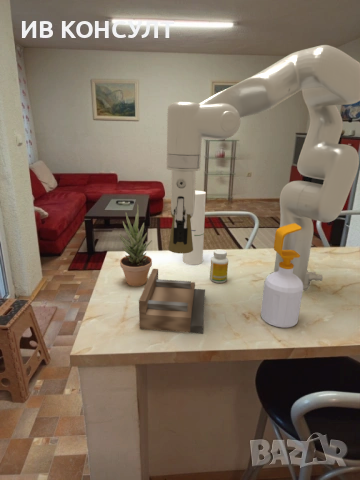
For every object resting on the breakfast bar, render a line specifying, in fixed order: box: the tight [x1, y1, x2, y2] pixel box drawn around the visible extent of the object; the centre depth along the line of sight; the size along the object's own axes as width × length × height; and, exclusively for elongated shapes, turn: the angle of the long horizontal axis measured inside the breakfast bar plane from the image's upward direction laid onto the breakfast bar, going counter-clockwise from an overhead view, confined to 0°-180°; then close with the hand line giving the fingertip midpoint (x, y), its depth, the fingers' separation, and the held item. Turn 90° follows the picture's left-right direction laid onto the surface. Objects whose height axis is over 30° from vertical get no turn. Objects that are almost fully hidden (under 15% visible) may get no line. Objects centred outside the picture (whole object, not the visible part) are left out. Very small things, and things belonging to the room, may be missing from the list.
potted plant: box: [119, 204, 153, 287], centre depth 94 cm, size 10×10×25 cm
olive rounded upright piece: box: [167, 209, 193, 254], centre depth 75 cm, size 6×6×11 cm
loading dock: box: [138, 268, 206, 335], centre depth 81 cm, size 15×18×8 cm
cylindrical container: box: [182, 189, 207, 266], centre depth 110 cm, size 7×7×25 cm
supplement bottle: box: [209, 249, 229, 284], centre depth 99 cm, size 5×5×10 cm
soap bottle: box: [260, 223, 304, 328], centre depth 76 cm, size 9×9×25 cm
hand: (181, 239), depth 76 cm, fingers closed on olive rounded upright piece, 4 cm apart
